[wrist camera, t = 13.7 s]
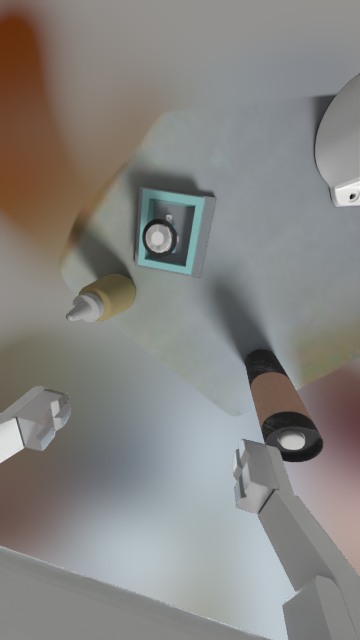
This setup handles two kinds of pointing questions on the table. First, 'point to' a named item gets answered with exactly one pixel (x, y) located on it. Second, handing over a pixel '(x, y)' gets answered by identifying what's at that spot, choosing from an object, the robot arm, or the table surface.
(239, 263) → the table surface
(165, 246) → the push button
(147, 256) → the socket plate
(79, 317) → the squeeze bottle
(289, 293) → the table surface
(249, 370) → the travel mug
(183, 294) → the table surface
